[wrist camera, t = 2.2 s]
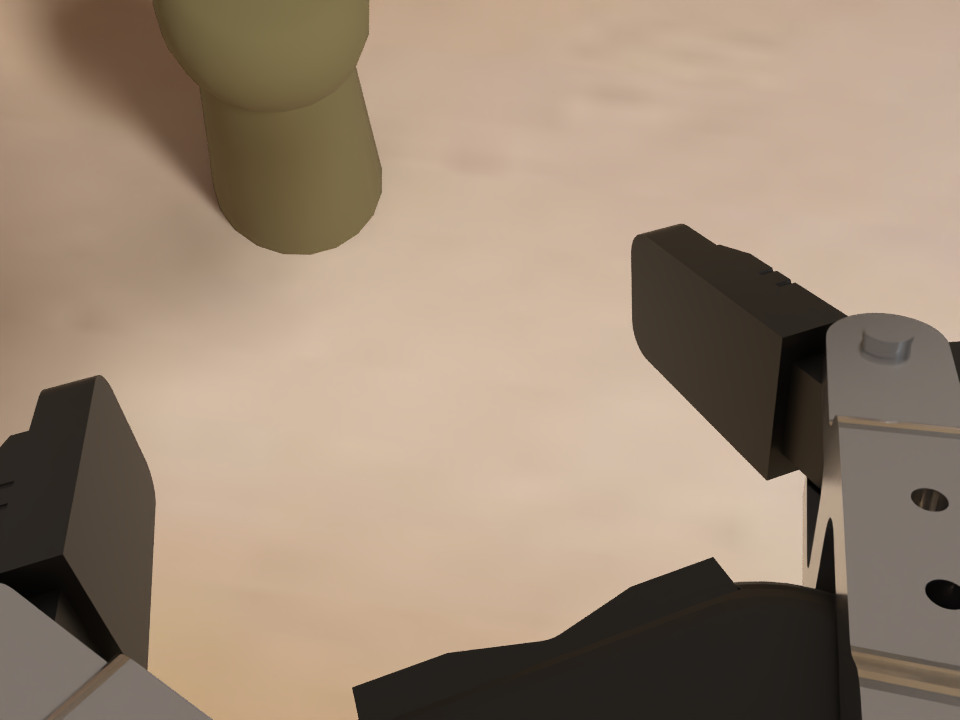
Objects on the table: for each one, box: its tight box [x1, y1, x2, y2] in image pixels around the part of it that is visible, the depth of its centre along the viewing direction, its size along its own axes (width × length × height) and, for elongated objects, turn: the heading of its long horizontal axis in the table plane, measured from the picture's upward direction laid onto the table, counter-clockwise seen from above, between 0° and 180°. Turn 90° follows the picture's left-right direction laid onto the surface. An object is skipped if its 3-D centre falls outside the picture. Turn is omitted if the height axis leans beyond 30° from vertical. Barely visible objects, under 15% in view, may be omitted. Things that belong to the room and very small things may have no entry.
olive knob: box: [153, 0, 382, 255], centre depth 23 cm, size 6×6×11 cm
